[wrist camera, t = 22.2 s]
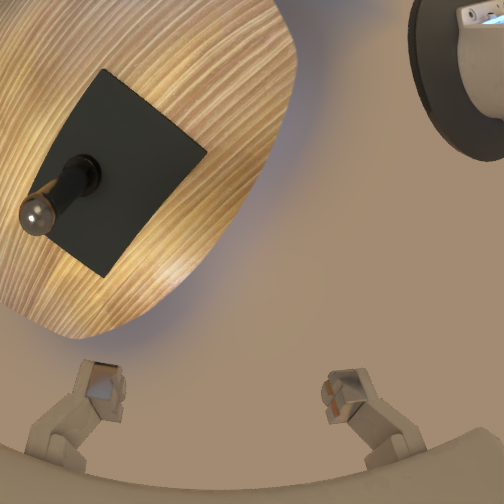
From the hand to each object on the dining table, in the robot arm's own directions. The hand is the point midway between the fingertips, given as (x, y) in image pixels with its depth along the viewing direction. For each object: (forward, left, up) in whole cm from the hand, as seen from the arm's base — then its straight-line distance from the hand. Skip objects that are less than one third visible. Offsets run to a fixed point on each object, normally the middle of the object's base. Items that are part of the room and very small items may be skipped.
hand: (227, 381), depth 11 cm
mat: (+9, -10, -23) cm, 26 cm away
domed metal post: (+8, -12, -22) cm, 27 cm away
